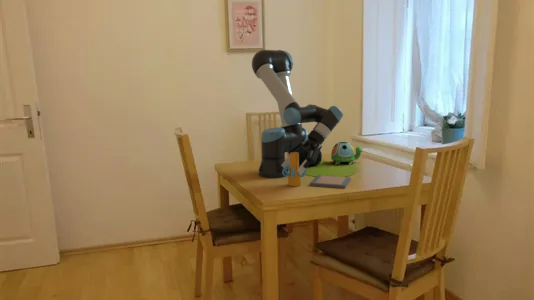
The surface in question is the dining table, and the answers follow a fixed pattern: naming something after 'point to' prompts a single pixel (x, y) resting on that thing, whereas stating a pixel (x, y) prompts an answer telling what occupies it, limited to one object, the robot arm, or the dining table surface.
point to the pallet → (330, 181)
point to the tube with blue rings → (293, 170)
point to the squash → (304, 156)
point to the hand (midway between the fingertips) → (290, 170)
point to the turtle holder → (345, 153)
